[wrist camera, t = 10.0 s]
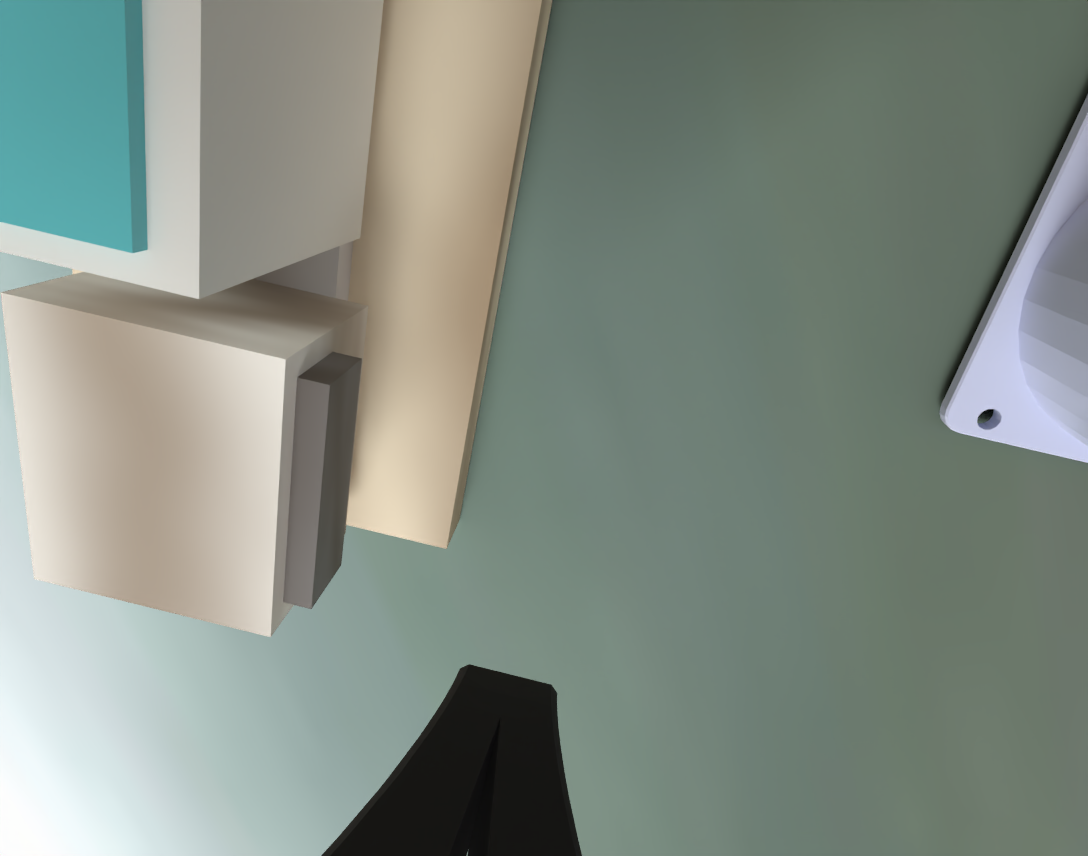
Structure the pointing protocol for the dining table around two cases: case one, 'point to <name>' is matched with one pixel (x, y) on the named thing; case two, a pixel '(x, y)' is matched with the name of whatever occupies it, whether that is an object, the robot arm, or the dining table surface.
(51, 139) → the block
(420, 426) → the board
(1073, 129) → the robot arm
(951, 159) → the dining table surface
